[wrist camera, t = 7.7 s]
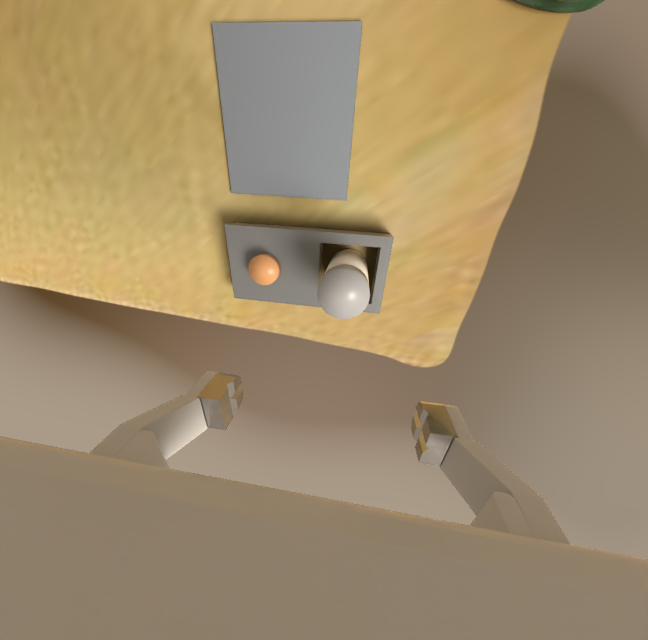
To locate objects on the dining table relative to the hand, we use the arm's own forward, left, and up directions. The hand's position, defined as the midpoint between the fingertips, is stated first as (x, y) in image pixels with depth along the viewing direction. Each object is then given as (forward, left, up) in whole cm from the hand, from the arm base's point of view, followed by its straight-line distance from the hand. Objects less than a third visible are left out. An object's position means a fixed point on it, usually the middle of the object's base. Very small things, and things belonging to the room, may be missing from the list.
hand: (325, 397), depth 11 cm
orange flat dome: (-10, 0, -20) cm, 22 cm away
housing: (-5, 0, -23) cm, 23 cm away
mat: (-8, +15, -23) cm, 29 cm away
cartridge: (0, 0, -23) cm, 23 cm away
